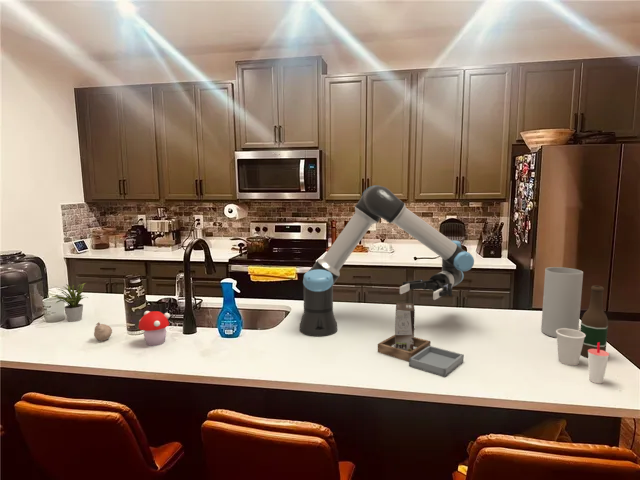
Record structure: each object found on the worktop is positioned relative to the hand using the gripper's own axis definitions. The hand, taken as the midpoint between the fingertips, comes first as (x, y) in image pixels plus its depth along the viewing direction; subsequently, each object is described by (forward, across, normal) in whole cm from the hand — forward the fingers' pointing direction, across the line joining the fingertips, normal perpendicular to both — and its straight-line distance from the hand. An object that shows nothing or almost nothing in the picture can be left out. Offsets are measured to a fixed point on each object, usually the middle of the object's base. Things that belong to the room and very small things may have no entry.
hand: (416, 293), depth 157 cm
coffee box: (+12, -2, -18) cm, 22 cm away
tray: (+16, -15, -18) cm, 28 cm away
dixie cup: (-13, -48, -19) cm, 53 cm away
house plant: (+72, +127, -16) cm, 146 cm away
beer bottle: (-24, -53, -19) cm, 61 cm away
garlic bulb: (+75, +92, -16) cm, 120 cm away
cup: (-3, -57, -19) cm, 60 cm away
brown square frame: (+12, -2, -18) cm, 22 cm away
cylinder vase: (-40, -40, -19) cm, 60 cm away
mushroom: (+64, +74, -16) cm, 99 cm away
